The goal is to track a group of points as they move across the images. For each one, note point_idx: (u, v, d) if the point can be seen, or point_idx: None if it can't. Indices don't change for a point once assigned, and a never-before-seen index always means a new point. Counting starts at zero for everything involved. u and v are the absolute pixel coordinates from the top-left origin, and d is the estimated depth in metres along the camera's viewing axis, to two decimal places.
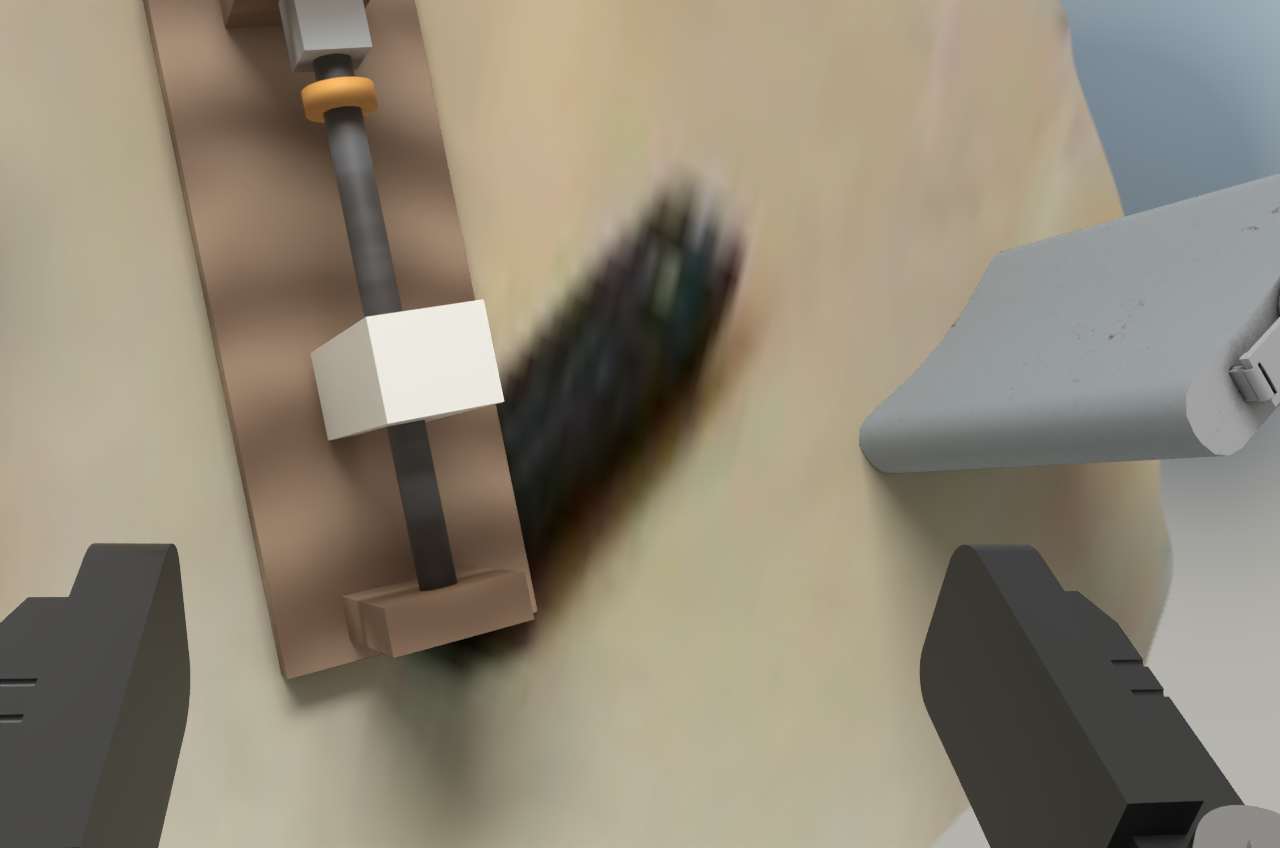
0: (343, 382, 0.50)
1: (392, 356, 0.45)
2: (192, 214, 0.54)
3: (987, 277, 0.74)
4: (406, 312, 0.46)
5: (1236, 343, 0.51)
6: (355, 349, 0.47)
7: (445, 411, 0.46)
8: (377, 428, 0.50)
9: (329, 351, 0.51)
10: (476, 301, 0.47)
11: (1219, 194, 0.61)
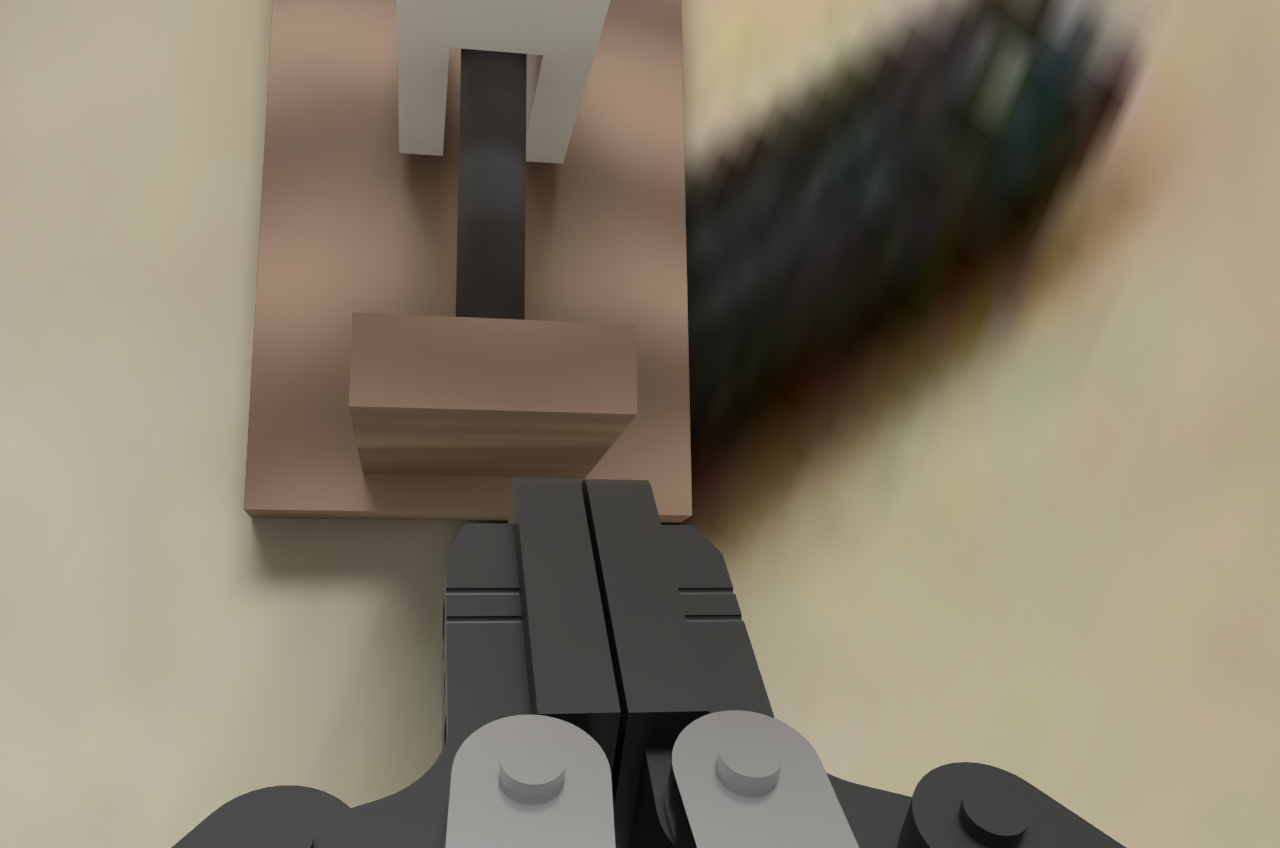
0: None
1: None
2: None
3: None
4: None
5: None
6: None
7: None
8: (432, 45, 0.29)
9: None
10: None
11: None
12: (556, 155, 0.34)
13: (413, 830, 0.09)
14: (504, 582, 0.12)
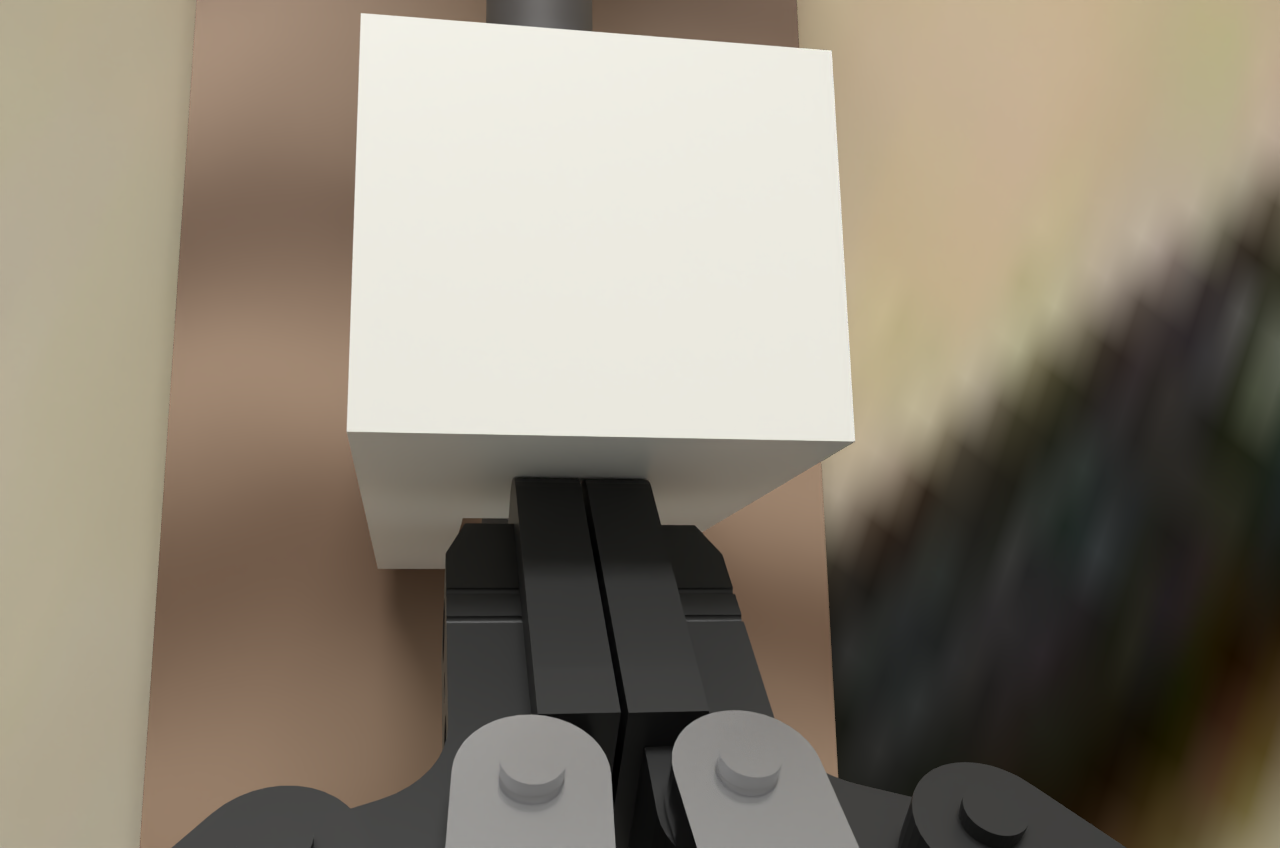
0: None
1: (432, 173, 0.11)
2: (197, 16, 0.23)
3: None
4: (524, 32, 0.12)
5: None
6: None
7: (604, 430, 0.11)
8: (432, 517, 0.15)
9: None
10: (803, 52, 0.12)
11: None
12: None
13: (413, 830, 0.09)
14: (504, 582, 0.12)
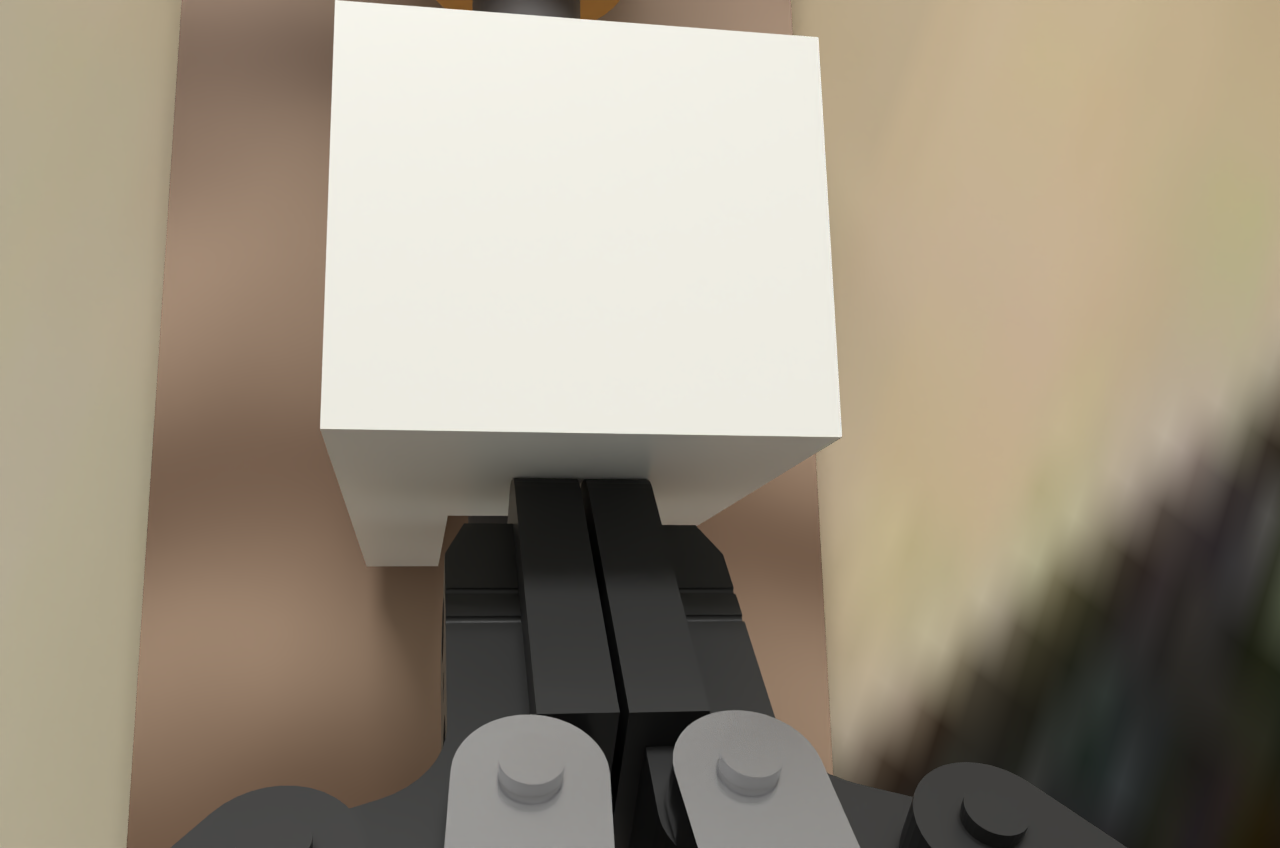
0: None
1: (407, 164, 0.11)
2: (167, 248, 0.22)
3: None
4: (503, 19, 0.11)
5: None
6: None
7: (583, 427, 0.11)
8: (416, 515, 0.15)
9: None
10: (789, 39, 0.12)
11: None
12: None
13: (412, 830, 0.09)
14: (503, 582, 0.12)
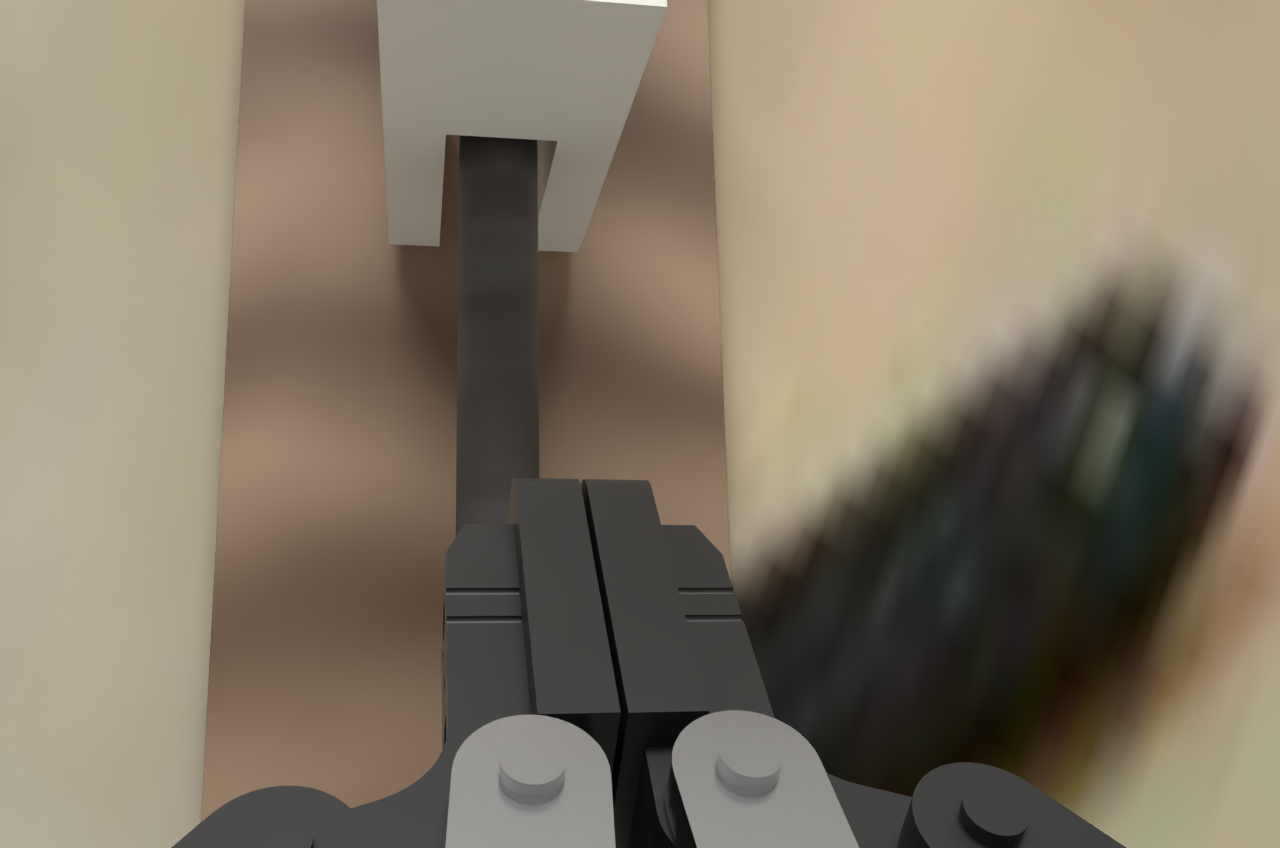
0: None
1: None
2: (237, 177, 0.30)
3: None
4: None
5: None
6: None
7: None
8: (425, 132, 0.24)
9: None
10: None
11: None
12: (571, 244, 0.30)
13: (413, 830, 0.09)
14: (504, 582, 0.12)
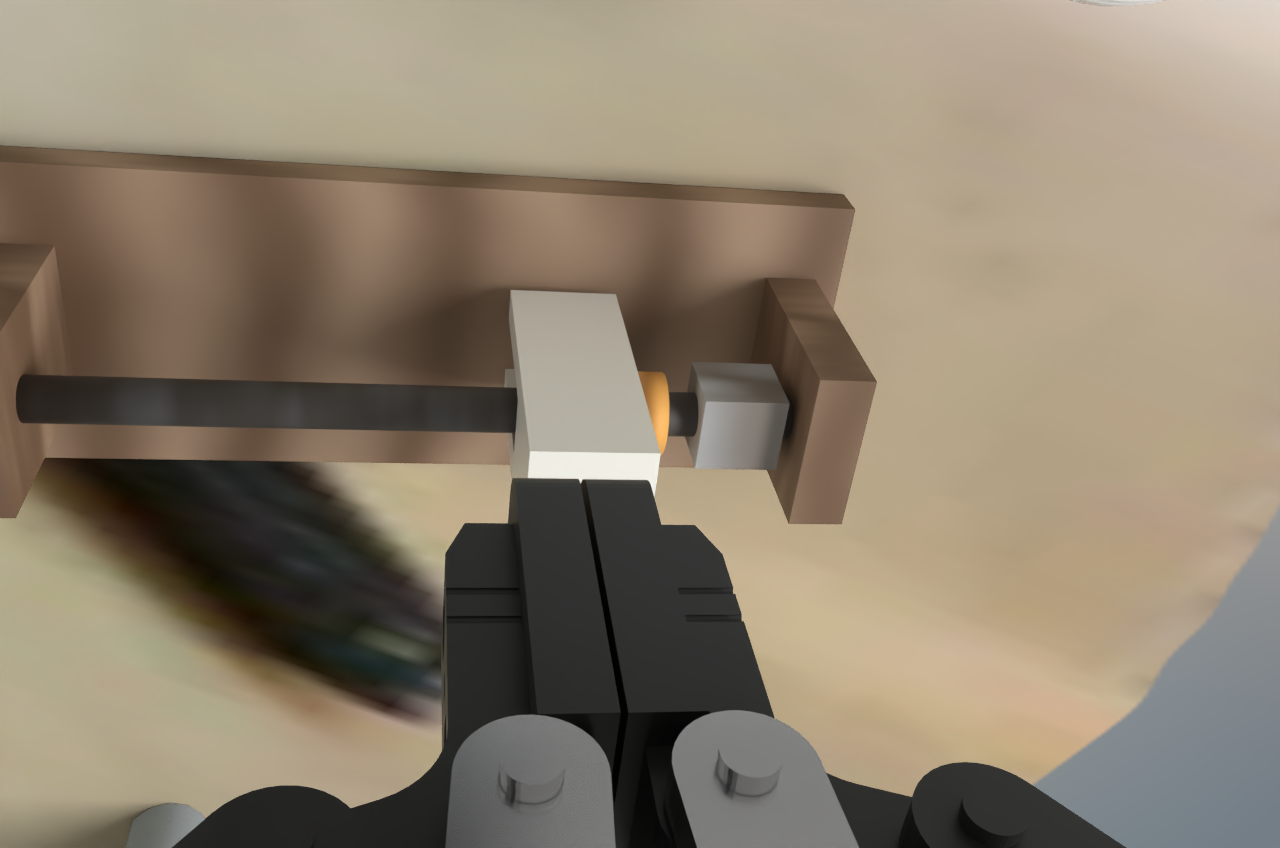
0: (580, 360, 0.42)
1: (607, 471, 0.38)
2: (565, 193, 0.45)
3: None
4: None
5: None
6: (621, 409, 0.39)
7: None
8: (518, 390, 0.41)
9: (618, 342, 0.43)
10: None
11: None
12: None
13: (413, 830, 0.09)
14: (504, 582, 0.12)
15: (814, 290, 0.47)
